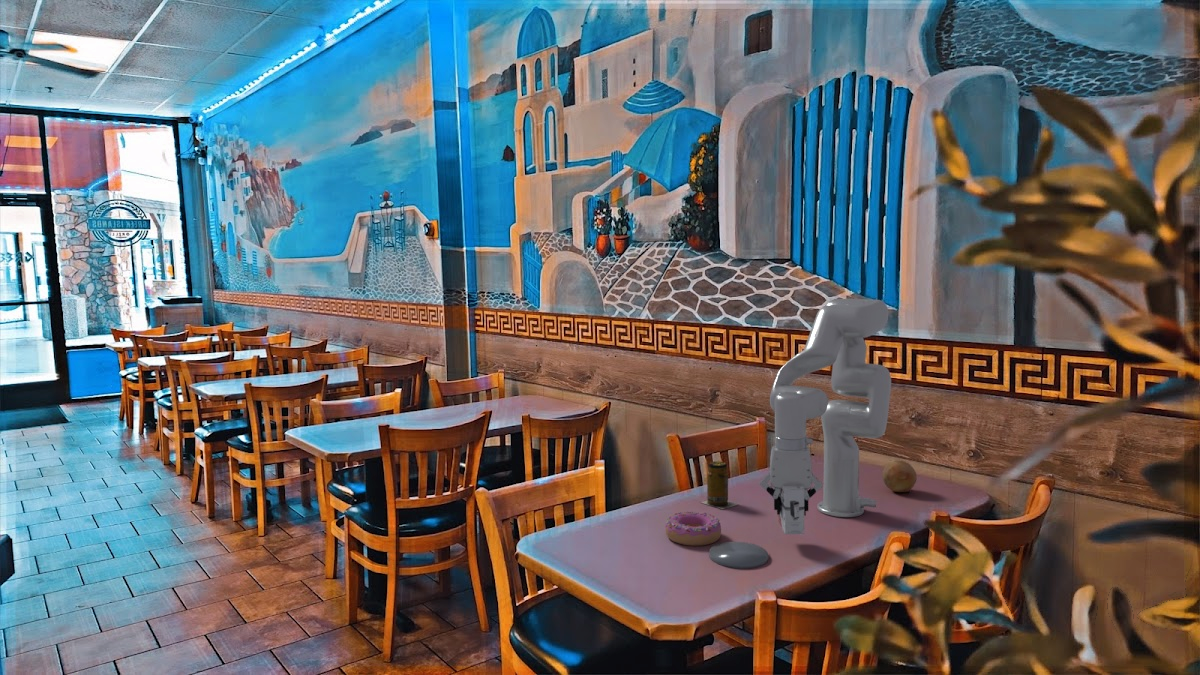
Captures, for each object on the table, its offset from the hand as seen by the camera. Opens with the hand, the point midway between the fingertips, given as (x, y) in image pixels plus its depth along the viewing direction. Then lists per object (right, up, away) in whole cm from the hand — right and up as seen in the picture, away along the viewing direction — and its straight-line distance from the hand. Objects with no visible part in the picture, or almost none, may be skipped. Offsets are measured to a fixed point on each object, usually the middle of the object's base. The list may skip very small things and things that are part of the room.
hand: (791, 512), depth 188 cm
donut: (-24, -8, +7) cm, 26 cm away
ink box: (0, -4, +1) cm, 4 cm away
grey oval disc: (-14, -9, -6) cm, 18 cm away
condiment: (-13, -5, +33) cm, 36 cm away
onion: (+44, -4, +42) cm, 61 cm away
